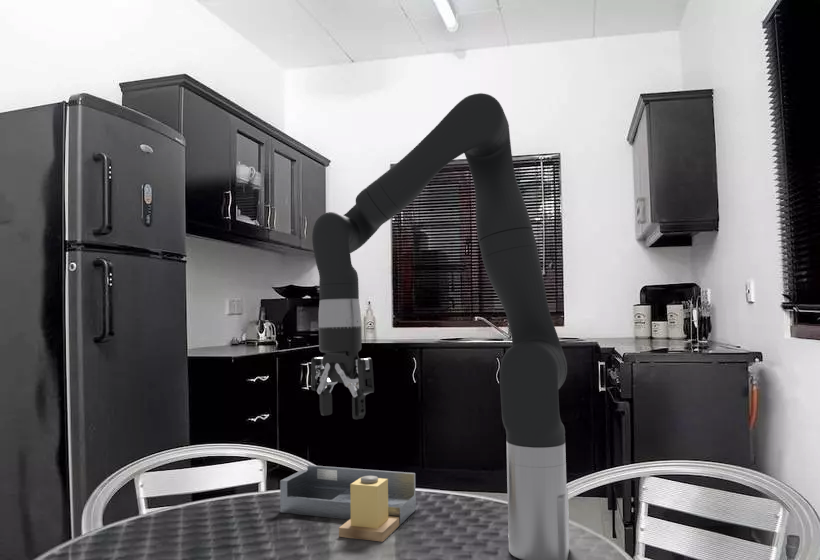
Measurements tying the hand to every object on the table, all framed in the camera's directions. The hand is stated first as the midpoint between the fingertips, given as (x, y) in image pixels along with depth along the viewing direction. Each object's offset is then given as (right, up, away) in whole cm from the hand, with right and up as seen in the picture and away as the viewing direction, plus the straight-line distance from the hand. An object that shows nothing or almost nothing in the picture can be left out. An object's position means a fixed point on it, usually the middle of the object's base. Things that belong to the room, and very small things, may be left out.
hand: (342, 416), depth 107 cm
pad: (+5, -20, -2) cm, 20 cm away
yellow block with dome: (+5, -18, -2) cm, 19 cm away
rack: (0, -20, +9) cm, 22 cm away
